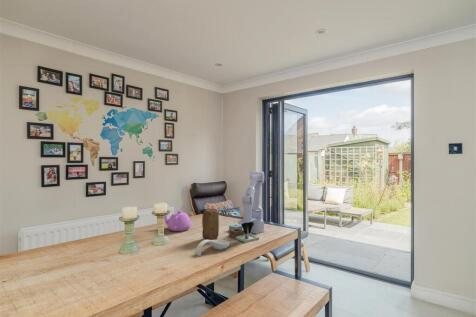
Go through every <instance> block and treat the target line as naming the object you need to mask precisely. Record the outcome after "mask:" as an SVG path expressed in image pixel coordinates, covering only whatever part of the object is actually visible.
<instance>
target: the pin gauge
mask: <svg viewBox="0 0 476 317" xmlns="http://www.w3.org/2000/svg"><path fill="white" fill-rule="evenodd" d="M244 235H245V239H248V238H249V226H248V229H247V234H244Z"/></svg>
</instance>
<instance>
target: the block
mask: <svg viewBox="0 0 476 317" xmlns="http://www.w3.org/2000/svg"><path fill="white" fill-rule="evenodd" d="M201 219H202V220H201V223H202V224H201V225H202V231H201V232H202V233H201V234H202V239H203V240H218V237H219V234H220V233H219V230H220V227H219V226H220V219H219V211H218V210H216V209H215V208H207V209H205V210H204V211H203V213H202V218H201Z"/></svg>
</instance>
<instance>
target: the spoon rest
mask: <svg viewBox="0 0 476 317" xmlns="http://www.w3.org/2000/svg"><path fill="white" fill-rule="evenodd" d="M206 244H210V245H211V246H212V248H213V249H215V250H217V251H222V250H225V249H227V248H228V247H230V245H231V242H230V241H229V240H226V239H217V240H204V239H203V240H202V241H200V242H199V243H198V244H197V246H196V248H195V249H194V255H195V256H198V257H201V256H202V255H201V254H202V249H203V247H204V246H205V245H206Z"/></svg>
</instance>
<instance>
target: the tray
mask: <svg viewBox="0 0 476 317" xmlns="http://www.w3.org/2000/svg"><path fill="white" fill-rule="evenodd" d="M235 240H237V241H239V242H242V243H243V244H246V243H249V242H253V241H258V240H260V237H259V236H257V235H255V234H252V233H250V234H249V238H248V239H245V234H244V235H241V236H236V238H235Z"/></svg>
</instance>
